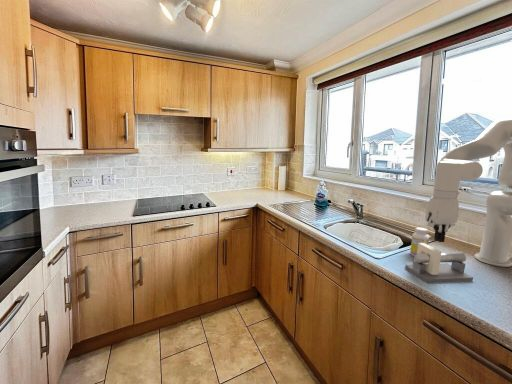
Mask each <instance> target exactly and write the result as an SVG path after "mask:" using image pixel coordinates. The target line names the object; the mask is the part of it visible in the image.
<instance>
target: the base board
mask: <svg viewBox="0 0 512 384" xmlns="http://www.w3.org/2000/svg"><path fill="white" fill-rule="evenodd" d="M451 265H452V264H450V263H449V262H444V263H440V266H439V272H438V274H434V275H432V274H430V273H429V272H427V271H426V270H425V271H424V274H418V273H417V272H416V271H414V270H413V269H412V267H413V264H405V266H404V267H405V268H404V269H405V270H407V271H408V272H410V273H411V274H412V275H414V276H416V277H417V278H419V280H421V281H423V283H426V284H433V283H434V284H437V283H439V284H440V283H458V282H460V283H462V282H463V283H464V282H473V281H474V277H473V276H471V275H469V274H468V273H466V272H464V273H459V272H457V271H455V270H454V269H452V268H451Z"/></svg>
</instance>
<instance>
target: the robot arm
mask: <svg viewBox="0 0 512 384" xmlns="http://www.w3.org/2000/svg"><path fill="white" fill-rule="evenodd" d="M502 148H503V150H504V157H503V161H502V165H501V168H500V171H499V174H498V179H497V183H498V185H499V186H500V187H501V188H504V189H510V190H512V117H509V118H508V117H507V118H500V119H497V120H495V121H494V122H492V123H491V124H490V125H489V126H487V128H486V129H485V130H484V131H483V132H482V133H481V134H480V135H479V136H478V137H477V138H476V139H475V140H472V141H469V142H467V143H465V144H462V145H460V146H457V147H454V148H453V149H451V150H449V152H447V153H445V155H444V156H443V157H442V158H441V159H440V160H439V161H438V162H437V164H436V167H435V168H436V169H435V176H434V184H433V193H432V196H431V197H430V198H429V201H428V205H427V207H426V213H425V218H424V219H425V222H427V224H426V226H427V227H429V228H433V230H434V237H433V240H434V241H436V242H438V243H444V242H445V238H446V234H447V232H448V230H449V229H450V228H451V227H454V226H455V227H456V223H457V222H458V219H459V206H460V205H459V198H458V196H459V195H460V191H459V188H460V181H464V182H471V181H475V180H478V179H479V178H480V177H481V176H482V175H483V166H482V164H481V163H480V162H478V161H476V160H478V159H479V160H480V159H484V158H485V159H486V158H488V157H489V158H490V157H492V156H494V155H496V154H497V153H499V151H500V150H501V149H502ZM485 205H486V217H485V222H484V229H483V233H482V239H481V245H480V248H479V252H476V253H475V254H474V258H475V259H476V260H477V261H479V262H482V263H485V264H486V265H487V264H488V265H491V266H496V267H502V268H504V267H505V268H509V267H512V261H511V260H510V259H512V252H511V253H510V251H511V246H512V191H505V190H496V191H495V190H494V191H492V192H490V193H489V194H488V195H487V197H486V204H485Z"/></svg>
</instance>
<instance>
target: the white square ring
mask: <svg viewBox="0 0 512 384" xmlns="http://www.w3.org/2000/svg"><path fill="white" fill-rule="evenodd" d="M424 253H428V254H430V261H429V263H423V264H425V270H426V271H427V272H429V273H430V274H432V275H434V274H438V272H439V266H440V264H441V263H440V259H441V253H443V251H440V249H437V248H435V247H433V246H431V245H429V244H428V245H427V244H425V243H418V249H417V254H424Z"/></svg>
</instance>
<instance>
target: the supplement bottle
mask: <svg viewBox="0 0 512 384" xmlns="http://www.w3.org/2000/svg"><path fill="white" fill-rule="evenodd" d="M411 237H412V238H411V244H410V255H412V256H413V257H414V256H415V254H417V249H418V243H425V244H427V245H429V241H430V236H429V235H428V228H426V227H421V226H420V227H415V232H414V233H412V236H411Z"/></svg>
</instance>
